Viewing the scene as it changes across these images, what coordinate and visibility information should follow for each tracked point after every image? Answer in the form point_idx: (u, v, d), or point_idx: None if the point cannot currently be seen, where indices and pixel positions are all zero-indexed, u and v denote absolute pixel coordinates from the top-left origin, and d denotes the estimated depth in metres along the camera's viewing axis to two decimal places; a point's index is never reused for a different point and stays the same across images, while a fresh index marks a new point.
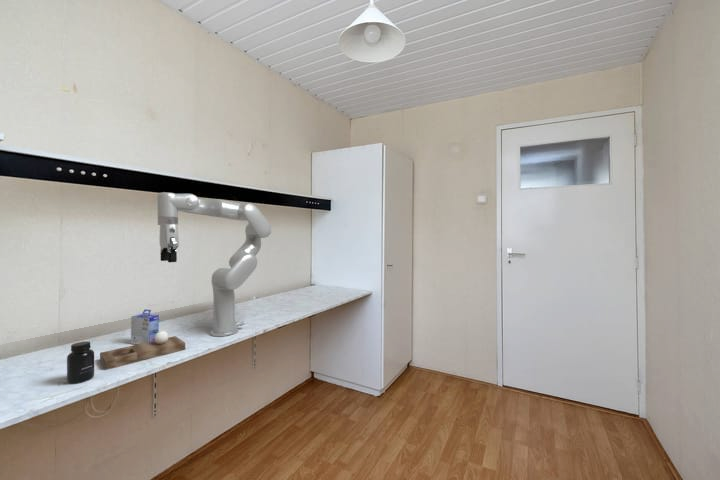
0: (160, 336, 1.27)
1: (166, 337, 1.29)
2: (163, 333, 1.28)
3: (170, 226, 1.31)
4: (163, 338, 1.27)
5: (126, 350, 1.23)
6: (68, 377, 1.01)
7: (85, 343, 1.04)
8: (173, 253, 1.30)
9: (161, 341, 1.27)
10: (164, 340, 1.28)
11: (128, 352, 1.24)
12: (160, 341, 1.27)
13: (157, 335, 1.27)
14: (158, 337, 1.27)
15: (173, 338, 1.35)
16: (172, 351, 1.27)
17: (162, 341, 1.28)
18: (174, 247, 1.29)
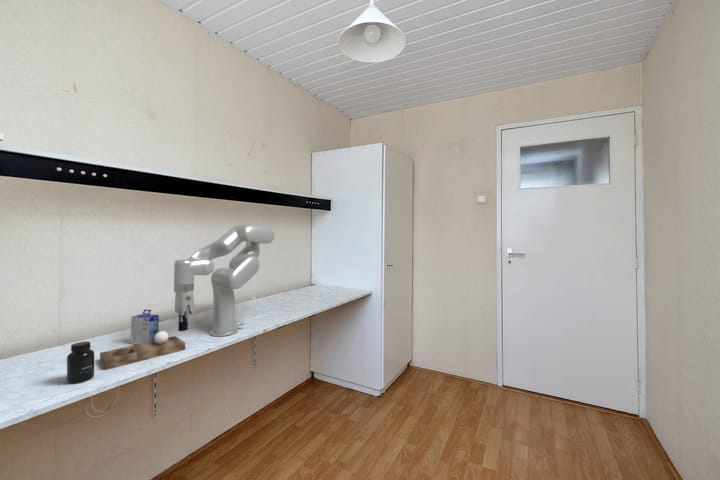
0: (160, 336, 1.27)
1: (166, 337, 1.29)
2: (163, 333, 1.28)
3: (186, 294, 1.32)
4: (163, 338, 1.27)
5: (126, 350, 1.23)
6: (68, 377, 1.01)
7: (85, 343, 1.04)
8: (185, 322, 1.34)
9: (161, 341, 1.27)
10: (164, 340, 1.28)
11: (128, 352, 1.24)
12: (160, 341, 1.27)
13: (157, 335, 1.27)
14: (158, 337, 1.27)
15: (173, 338, 1.35)
16: (172, 351, 1.27)
17: (162, 341, 1.28)
18: (186, 318, 1.33)
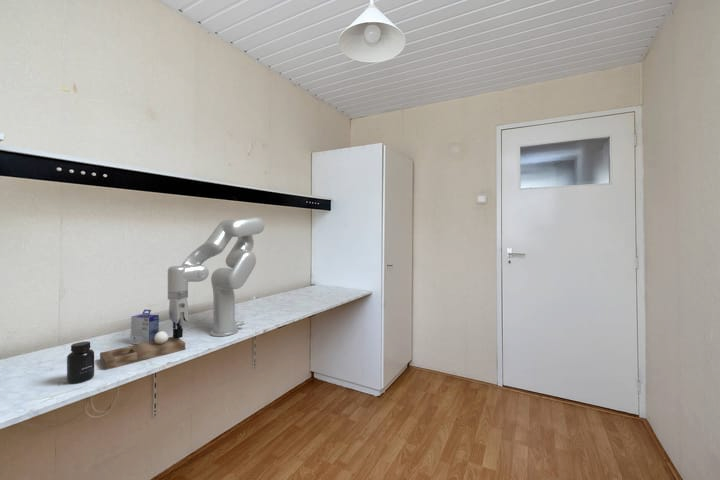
0: (160, 336, 1.27)
1: (166, 337, 1.29)
2: (163, 333, 1.28)
3: (180, 301, 1.30)
4: (163, 338, 1.27)
5: (126, 350, 1.23)
6: (68, 377, 1.01)
7: (85, 343, 1.04)
8: (179, 329, 1.33)
9: (161, 341, 1.27)
10: (164, 340, 1.28)
11: (128, 352, 1.24)
12: (160, 341, 1.27)
13: (157, 335, 1.27)
14: (158, 337, 1.27)
15: (173, 338, 1.35)
16: (172, 351, 1.27)
17: (162, 341, 1.28)
18: (180, 326, 1.31)
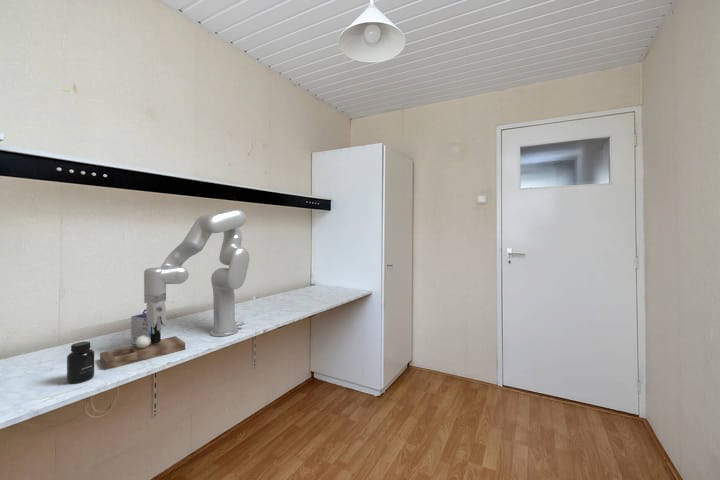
0: (145, 346, 1.23)
1: (142, 342, 1.22)
2: (140, 346, 1.22)
3: (157, 305, 1.24)
4: (145, 343, 1.23)
5: (126, 350, 1.23)
6: (68, 377, 1.01)
7: (85, 343, 1.04)
8: (157, 334, 1.27)
9: (148, 341, 1.24)
10: (145, 340, 1.23)
11: (128, 352, 1.24)
12: (149, 341, 1.24)
13: (145, 347, 1.24)
14: (147, 345, 1.24)
15: (173, 338, 1.35)
16: (172, 351, 1.27)
17: (147, 340, 1.24)
18: (157, 330, 1.25)
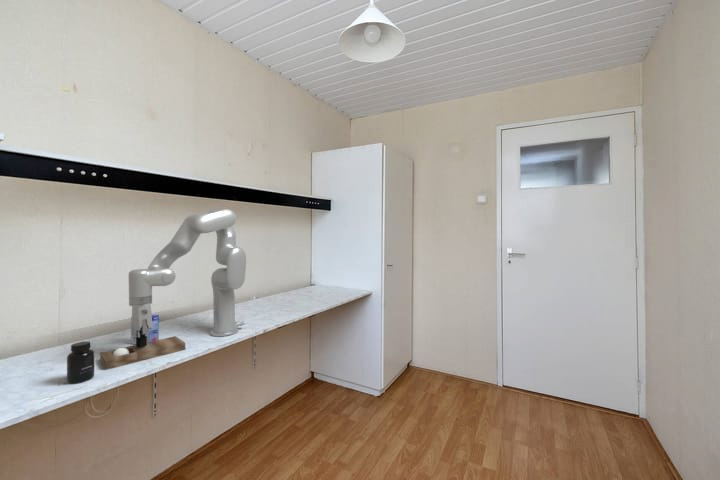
0: (119, 352, 1.17)
1: None
2: (123, 350, 1.18)
3: (142, 307, 1.20)
4: None
5: None
6: (68, 377, 1.01)
7: (85, 343, 1.04)
8: (143, 338, 1.23)
9: None
10: None
11: None
12: None
13: (116, 351, 1.17)
14: (116, 353, 1.17)
15: (173, 338, 1.35)
16: (172, 351, 1.27)
17: None
18: (143, 334, 1.22)
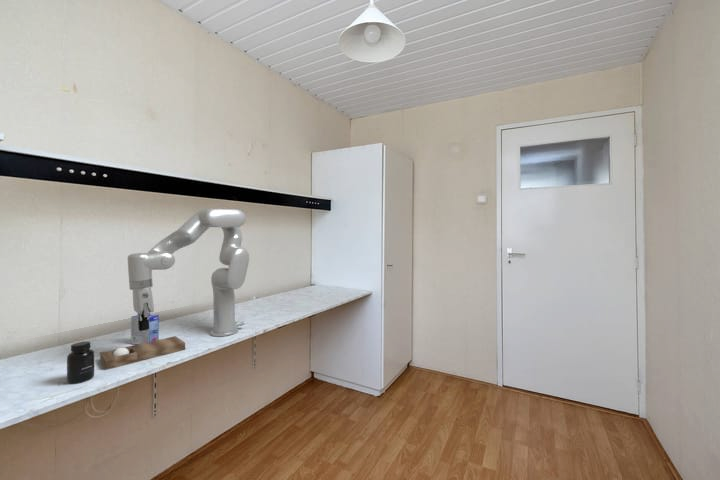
0: (119, 352, 1.17)
1: None
2: (123, 350, 1.18)
3: (143, 291, 1.20)
4: None
5: None
6: (68, 377, 1.01)
7: (85, 343, 1.04)
8: (145, 321, 1.24)
9: None
10: None
11: None
12: None
13: (116, 351, 1.17)
14: (117, 353, 1.17)
15: (173, 338, 1.35)
16: (172, 351, 1.27)
17: None
18: (145, 317, 1.22)
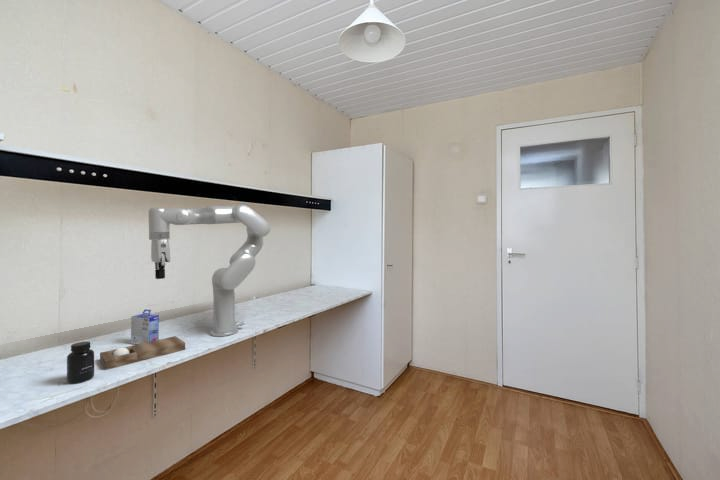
0: (119, 352, 1.17)
1: None
2: (124, 350, 1.18)
3: (161, 241, 1.32)
4: None
5: None
6: (68, 377, 1.01)
7: (85, 343, 1.04)
8: (161, 270, 1.35)
9: None
10: None
11: None
12: None
13: (117, 351, 1.17)
14: (117, 353, 1.17)
15: (173, 338, 1.35)
16: (172, 351, 1.27)
17: None
18: (162, 266, 1.33)
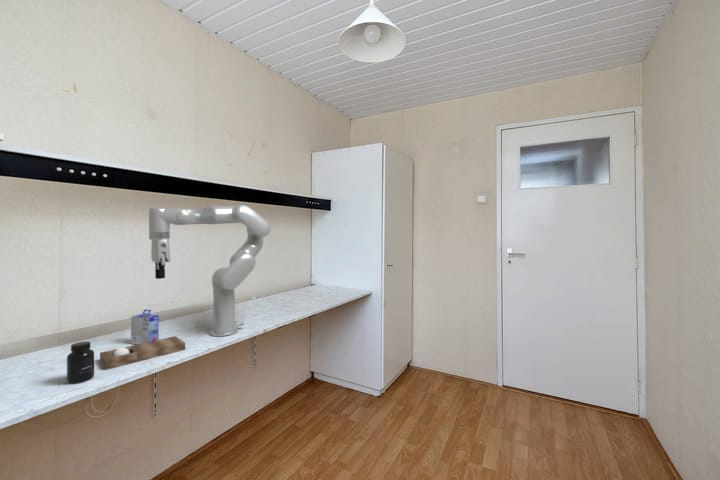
0: (119, 352, 1.17)
1: None
2: (124, 350, 1.18)
3: (161, 241, 1.32)
4: None
5: None
6: (68, 377, 1.01)
7: (85, 343, 1.04)
8: (161, 270, 1.35)
9: None
10: None
11: None
12: None
13: (117, 351, 1.17)
14: (117, 353, 1.17)
15: (173, 338, 1.35)
16: (172, 351, 1.27)
17: None
18: (162, 265, 1.33)
